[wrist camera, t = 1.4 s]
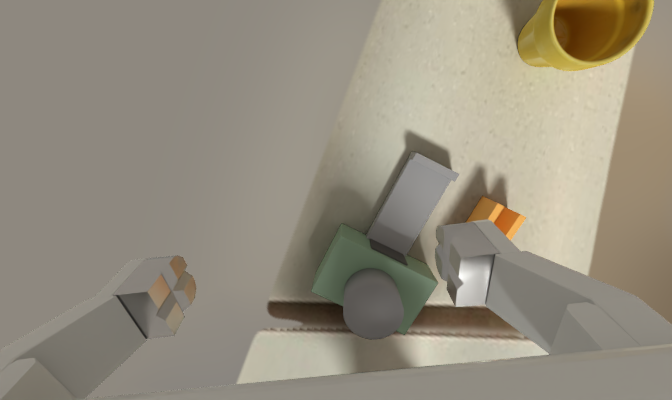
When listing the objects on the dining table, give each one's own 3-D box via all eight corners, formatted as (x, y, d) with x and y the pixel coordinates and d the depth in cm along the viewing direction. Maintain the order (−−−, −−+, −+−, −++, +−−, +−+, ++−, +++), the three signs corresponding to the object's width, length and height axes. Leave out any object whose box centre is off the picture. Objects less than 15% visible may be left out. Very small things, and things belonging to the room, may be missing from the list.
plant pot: (507, 90, 41) (555, 77, 31) (497, 13, 38) (546, -27, 29) (583, 70, 40) (657, 49, 30) (577, -11, 37) (655, -61, 28)
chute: (507, 208, 45) (526, 217, 40) (466, 270, 47) (479, 285, 42) (481, 195, 44) (498, 203, 40) (442, 258, 47) (452, 272, 42)
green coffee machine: (477, 184, 44) (518, 200, 33) (398, 311, 49) (411, 360, 39) (385, 138, 43) (398, 139, 32) (315, 272, 48) (306, 311, 38)
